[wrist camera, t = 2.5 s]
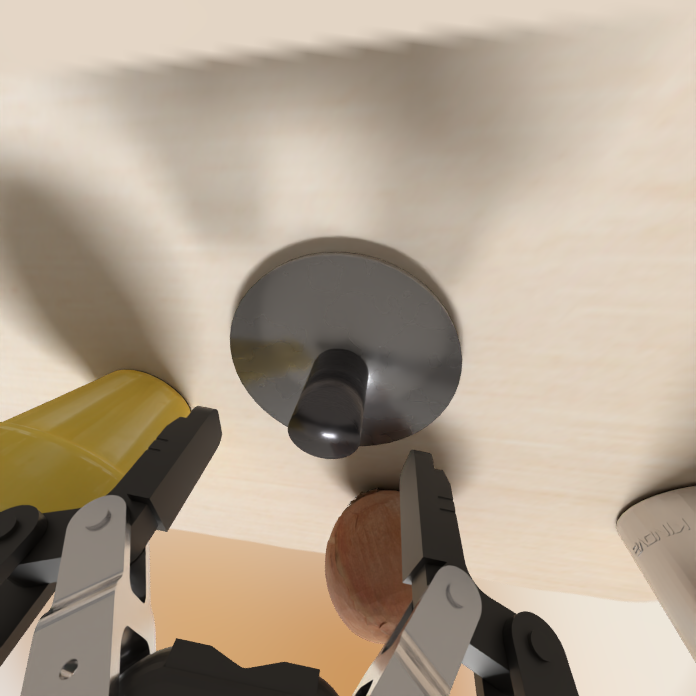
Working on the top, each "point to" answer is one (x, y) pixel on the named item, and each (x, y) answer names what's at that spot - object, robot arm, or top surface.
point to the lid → (345, 351)
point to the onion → (368, 566)
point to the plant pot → (83, 440)
